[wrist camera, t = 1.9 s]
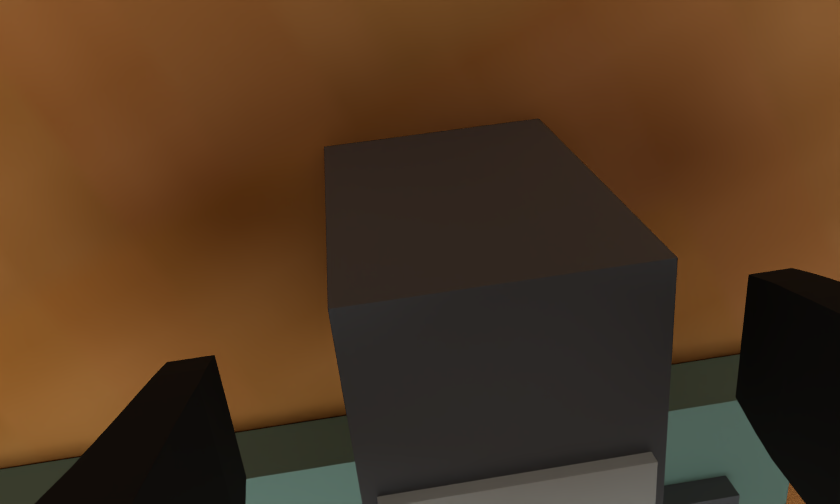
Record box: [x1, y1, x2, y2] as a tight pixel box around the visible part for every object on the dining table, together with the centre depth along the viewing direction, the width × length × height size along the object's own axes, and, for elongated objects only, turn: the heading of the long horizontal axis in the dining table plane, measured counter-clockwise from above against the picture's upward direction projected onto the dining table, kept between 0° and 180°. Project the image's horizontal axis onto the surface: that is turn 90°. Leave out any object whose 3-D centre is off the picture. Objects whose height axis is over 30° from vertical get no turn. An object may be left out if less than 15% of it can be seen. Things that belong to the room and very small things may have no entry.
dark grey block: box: [324, 119, 678, 504], centre depth 12 cm, size 4×4×6 cm
